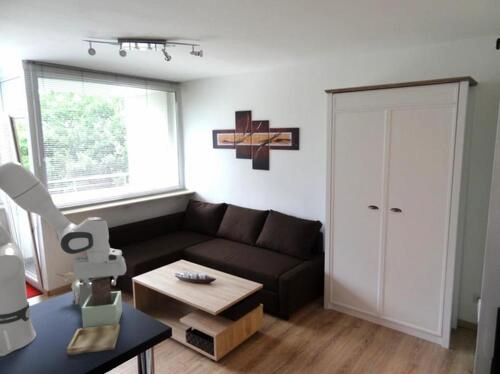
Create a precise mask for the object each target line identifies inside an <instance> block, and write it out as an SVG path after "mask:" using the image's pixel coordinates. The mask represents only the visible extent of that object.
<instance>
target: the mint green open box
mask: <svg viewBox="0 0 500 374" xmlns="http://www.w3.org/2000/svg"><path fill="white" fill-rule="evenodd" d="M111 300H112V304H111V305H100V306H93V295H92V294H89V296H88V298H87V300H86V302H85V303H84V305H83V307H82V309H81V319H82V328H90V327H99V326H108V325H117V324H120V320H121V316H122V314H123V303H122V291H121V290H118V291H111Z"/></svg>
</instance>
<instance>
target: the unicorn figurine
mask: <svg viewBox="0 0 500 374" xmlns="http://www.w3.org/2000/svg"><path fill="white" fill-rule="evenodd" d="M56 275H57V276H61V277H64V282H63V283H64V284H68V283H69V281H70V280H71V281H72V283H71V289H72V294H73V297H72V301H73V302H75V303H74V305H75V306H78V305H79V304H80V305H81V298H80V286H79V284H81V283H82V282H80V281H81V279H75V278H74V272H66V273H65V274H61V273H56Z"/></svg>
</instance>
